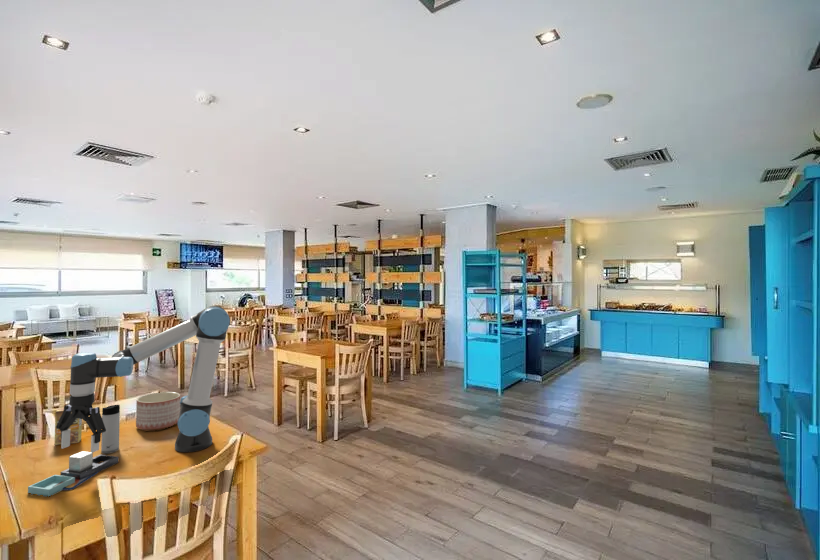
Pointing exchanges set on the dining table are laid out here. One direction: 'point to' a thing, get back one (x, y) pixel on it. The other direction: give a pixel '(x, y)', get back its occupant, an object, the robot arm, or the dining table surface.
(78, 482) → the smartphone
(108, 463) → the black divided organizer
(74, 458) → the white rectangular block
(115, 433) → the travel mug
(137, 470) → the dining table surface
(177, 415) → the planter
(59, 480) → the tray
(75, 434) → the candy box
